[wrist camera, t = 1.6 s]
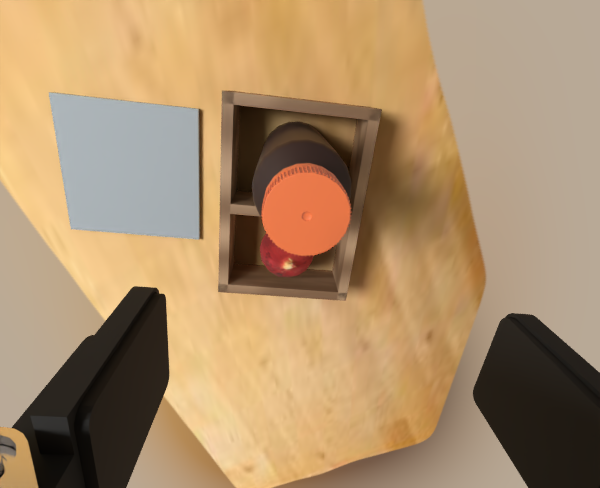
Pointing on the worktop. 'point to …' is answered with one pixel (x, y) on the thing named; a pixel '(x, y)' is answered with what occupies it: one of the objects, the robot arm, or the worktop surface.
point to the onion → (282, 260)
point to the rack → (241, 203)
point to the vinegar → (302, 190)
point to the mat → (129, 165)
